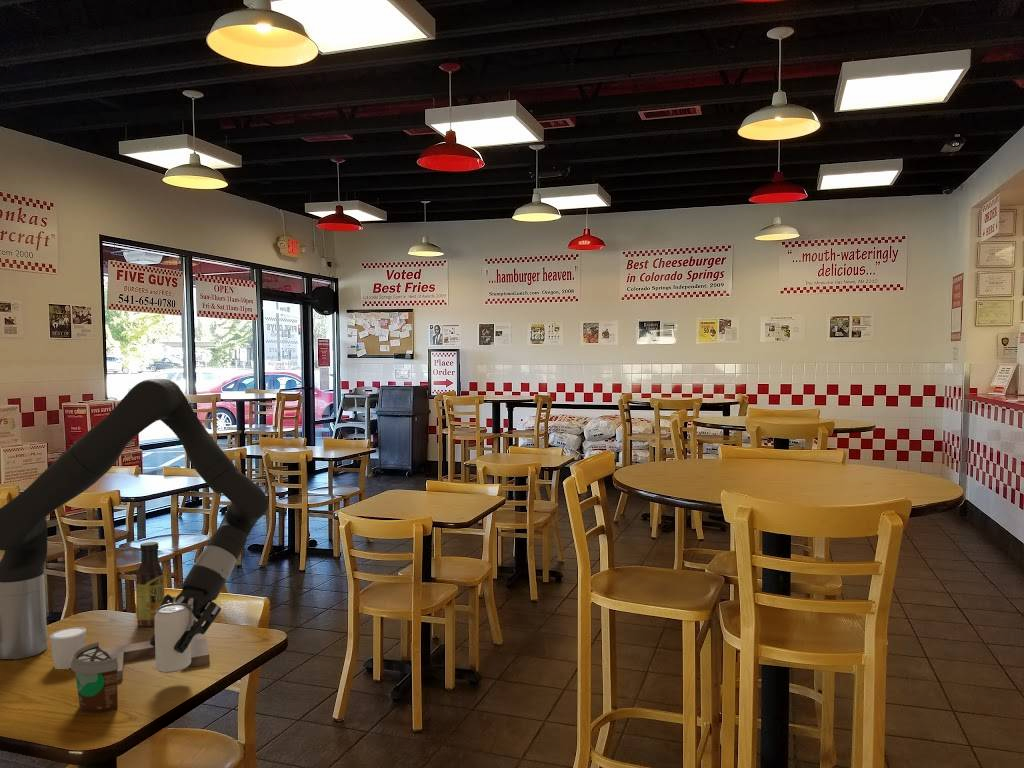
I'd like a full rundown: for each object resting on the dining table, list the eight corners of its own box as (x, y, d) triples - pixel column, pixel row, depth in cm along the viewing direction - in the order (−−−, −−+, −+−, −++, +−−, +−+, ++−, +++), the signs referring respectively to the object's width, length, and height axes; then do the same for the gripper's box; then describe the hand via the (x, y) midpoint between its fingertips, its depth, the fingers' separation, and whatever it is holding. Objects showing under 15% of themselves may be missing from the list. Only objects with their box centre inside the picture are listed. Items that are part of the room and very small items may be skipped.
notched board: (91, 685, 149) (91, 675, 149) (96, 658, 163) (95, 649, 163) (209, 663, 159) (209, 654, 159) (204, 640, 172) (204, 631, 172)
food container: (64, 701, 143) (62, 650, 142) (99, 690, 147) (97, 640, 147) (83, 723, 134) (80, 668, 133) (120, 711, 138) (117, 658, 138)
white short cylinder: (76, 655, 165) (75, 624, 164) (94, 661, 161) (93, 629, 161) (44, 667, 159) (42, 634, 159) (61, 673, 155) (60, 640, 155)
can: (177, 674, 145) (176, 614, 145) (148, 672, 147) (146, 612, 146) (198, 661, 152) (196, 603, 151) (169, 658, 153) (168, 601, 152)
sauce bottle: (154, 628, 180) (151, 547, 180) (131, 627, 181) (127, 546, 181) (171, 619, 187) (168, 540, 186) (148, 618, 188) (145, 540, 187)
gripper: (174, 560, 158) (127, 635, 148) (226, 567, 152) (181, 646, 142) (195, 577, 163) (151, 651, 153) (245, 585, 157) (203, 662, 147)
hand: (165, 648), depth 147 cm, fingers closed on can, 6 cm apart
